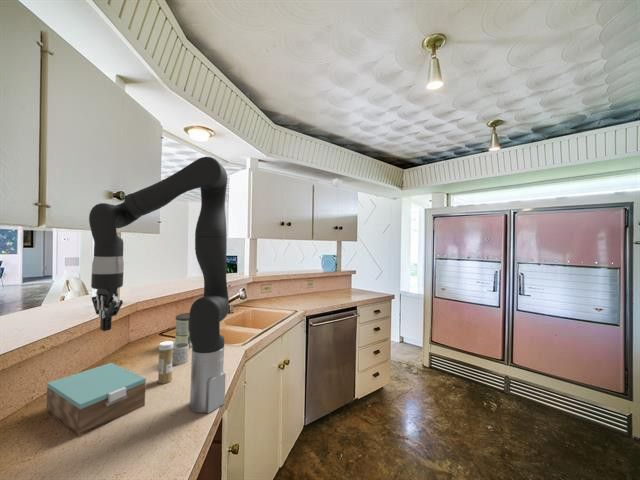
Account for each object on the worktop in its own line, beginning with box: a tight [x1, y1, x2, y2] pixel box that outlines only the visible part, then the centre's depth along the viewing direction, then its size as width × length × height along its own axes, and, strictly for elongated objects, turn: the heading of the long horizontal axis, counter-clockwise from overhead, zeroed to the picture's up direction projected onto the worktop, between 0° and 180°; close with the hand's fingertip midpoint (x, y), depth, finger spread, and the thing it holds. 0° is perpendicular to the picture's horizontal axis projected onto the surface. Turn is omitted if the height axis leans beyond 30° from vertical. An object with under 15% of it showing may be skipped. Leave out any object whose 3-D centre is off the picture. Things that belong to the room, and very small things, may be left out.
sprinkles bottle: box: [157, 340, 174, 385], centre depth 99 cm, size 5×5×14 cm
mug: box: [172, 343, 190, 366], centre depth 113 cm, size 10×7×7 cm
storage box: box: [46, 382, 146, 438], centre depth 82 cm, size 21×16×7 cm
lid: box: [46, 362, 147, 409], centre depth 82 cm, size 21×16×2 cm
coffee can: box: [174, 312, 192, 349], centre depth 133 cm, size 10×10×14 cm
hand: (105, 330), depth 83 cm, fingers closed
